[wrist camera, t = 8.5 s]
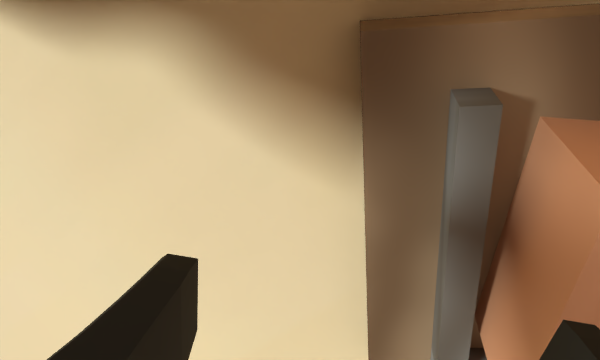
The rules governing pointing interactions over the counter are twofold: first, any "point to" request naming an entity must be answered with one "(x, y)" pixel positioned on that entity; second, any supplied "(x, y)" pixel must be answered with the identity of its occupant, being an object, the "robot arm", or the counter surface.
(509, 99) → the display stand
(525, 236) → the terracotta cardboard box
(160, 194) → the counter surface
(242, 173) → the counter surface
